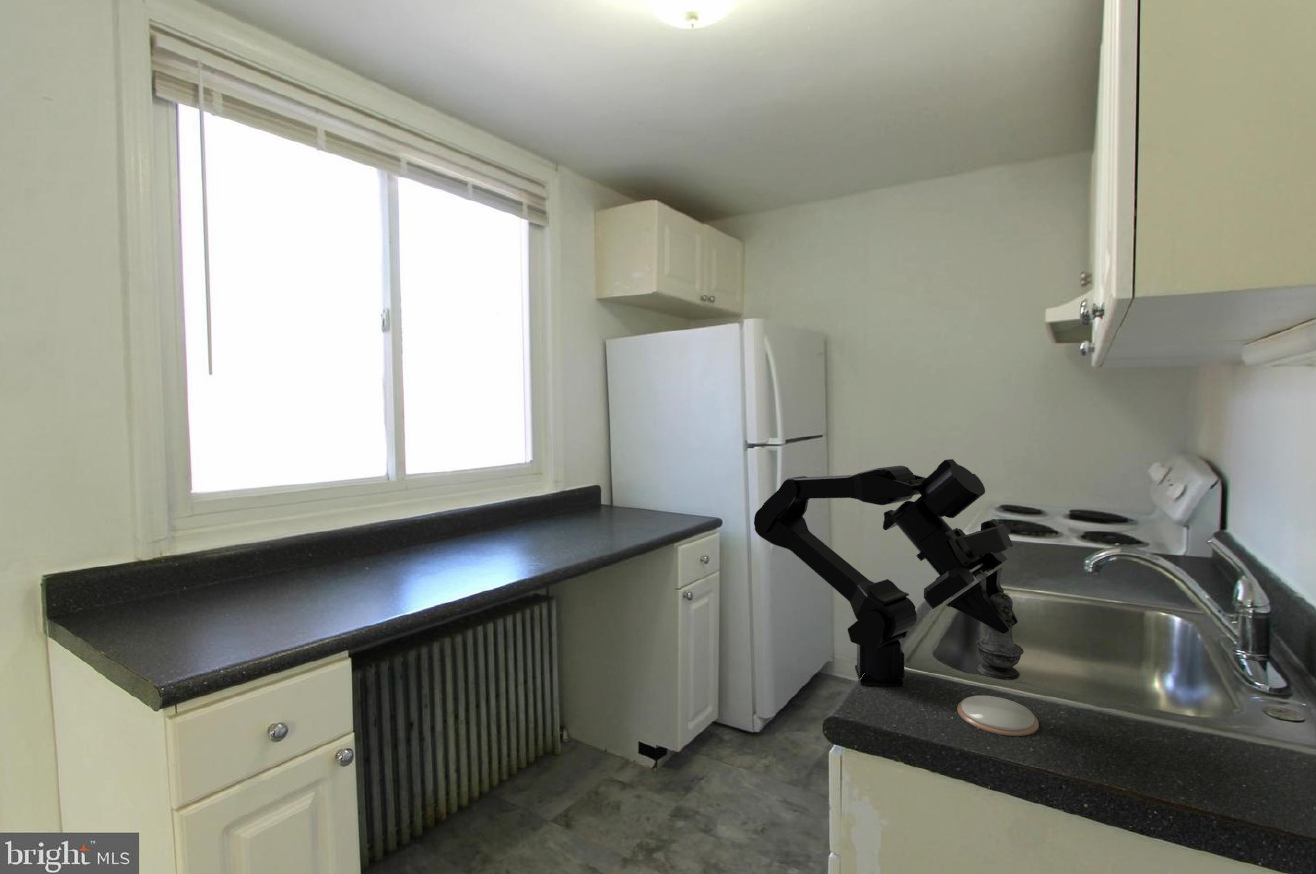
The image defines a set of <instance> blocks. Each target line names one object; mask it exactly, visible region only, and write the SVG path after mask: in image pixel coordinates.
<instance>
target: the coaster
mask: <svg viewBox="0 0 1316 874" xmlns="http://www.w3.org/2000/svg"><path fill="white" fill-rule="evenodd" d="M956 709H957V710H956V712H957V715H959V717H960V718H961V719H962V720H963V721H964V722H965V723H968V724H969V725H970V726H972V727H974V728H977V729H979V730H981V731H985V732H987V733H992V734H995V735H1001V736H1007V737H1008V736H1009V737H1023V736H1029V735H1032V734H1034V733H1036V732H1037V731H1038V730H1039V726H1040V724H1039V719H1038V718H1037V717H1036V716H1035V715H1034V713H1033V712H1032V711H1031V710H1030V709H1029V708H1027V707H1026V706H1024V705H1022V704H1020V703H1018V702H1015V701H1014V700H1010V699H1008V698H1002V697H999V696H998V697H997V696H992V695H973V696H968V697H965V698H964V699H962V701H960V702H959V703H958V705H957V708H956Z"/></svg>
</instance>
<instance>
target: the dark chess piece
mask: <svg viewBox="0 0 1316 874" xmlns="http://www.w3.org/2000/svg"><path fill="white" fill-rule="evenodd" d="M999 591H1000V593H996V594H993V595H992V596H991V597H990V600H991V601H992V603H993V604H994V606H995V607H996V609H997V610H998V611H999V613H1000V614H1001V616H1002V617H1003V619H1004V620H1005V622H1006V624H1007V625H1008V627H1009V628H1010V630H1009V631H1008V632H1006V633H1005V634H1002V633H1000V632H999V631H997V630H995V629H993V628H991V627H989V626H988V625H987V633H986V636H985V638H980V639H978V640H976V642H975V646H976V647H977V651H978V653H979V657H980V658H981V659H982V660H983V662H981V663H979V664H977V666H976V667H977V668H976V669H977V671H978V672H980V674H982V675H984V676H986V677H989V678H992V679H995V680H1002V681H1014V680H1018V679H1019V678H1020V676H1021V673H1020V671H1018V670H1017V669H1016V668H1014V666H1016V665H1018V663H1019V662H1020V660H1021V656H1022V655H1023V654H1024V648H1022V647H1021V646H1020V645H1018V644H1017V643H1015V642H1014V640H1013V639H1014V638H1013V626H1015V625H1016V624H1015V621H1014V620H1013V619H1012V610H1013V599H1012V598H1011V596H1009V595H1007V593H1005V590H1004V588H1003V587H1002V586H1001V588H1000V590H999ZM1003 592H1004V593H1003ZM1014 624H1015V625H1014ZM1012 625H1013V626H1012Z"/></svg>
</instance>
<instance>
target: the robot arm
mask: <svg viewBox="0 0 1316 874" xmlns="http://www.w3.org/2000/svg"><path fill="white" fill-rule="evenodd" d="M985 493H986V489H985V485H984V483H983V482H982V480H981V479H980V478H979V476H978V475H976V474H975V473H972V471H971V470H969V469H967V468H966V467H964V466H962V465H960V464H958V463H957V462H956V461H955V459H954V458H949V459H944V460H942V462H941V463H940V464H939V465H938V466H937V467H936V468H935V470H934V471H933V472H931V473H930V474H929V475H928V476H927V477H925V476H920V475H917V474H914V473H913V471H912V470H911V469H910V468H909V467H907V466H905V465H893V466H883V467H878V468H873V469H869V470H864V471H862V472H858V473H855V474H850V475H829V476H828V475H826V476H825V475H823V476H811V477H810V476H806V475H805V476H804V475H802V476H801V475H800V476H794V477H788V478H787V479H785V480H784V481H783V482H782V483H781V485H780V487H779V488H778V490H777V491H776V492H774V493H773V494H771V496H770V497H769V498H768V499H766V500H765V502H763V504H762V506H761V507H760V508H759V509H758V510H757V511H756V512H755V513H754V518H753V526H754V531H755V533H756V534H757V535H758V536H759V537H761V539H764V540H765V541H767V542H769V543H770V544H771V545H774V546H777V547H780V548H783V549H787V550H789V551H790V552H791V553H793V554H794V555H795V556H796V557H797V558H798V559H799V560H801V561H802V562H804V564H805V565H806V566H808V567H809V568H810V569H811V570H812V571H813V572H815V573H816V574H817V575H818V576H819V577H821V579H823V581H825V582H826V583H827V584H828V585H830V587H832V588H833V589H834V590H836V591H837V593H839V594H840V595H841V596H842V597H843V598H845V599H846V600H847V601H848V602H849V603H850V607H851V608H852V612H853V614H854V615H853V616H854V617H855V619H856V621H855V622H854V623H853V624H851V625H850V626H848V628H847V634H848V636H849V640H850V642H851V643H852V644H853V643H854V644H856V665H854V671H855V673H856V676H857V679H858V680H859V679H860V678H861V677H862V675H863V674H864V673H865V674H864V675H863V677H862V679H861V680H860V681H859V683H860V684H861V685H865V686H867V685H868V686H881V687H882V686H884V687H887V686H888V687H901V688H902V687H904V681H903V680H904V678H905V653H904V650H903V649H902V643H901V642H900V640H901V639H905V638H907V636H908V633H909V631H910V630H911V629H913V627H915V625H916V623H917V617H918V616H917V610H916V605H915V604H914V602H913V601H912V600H911V599H910V598H909V597H908V596H910V593H908V592H905V591H903V590H902V589H900V588H899V587H898V586H897V585H896V584H895V583H894V582H893V581H891V580H890V579H888V578H886V579H883V580H880V581H877V582H874V581H872V580H870V579H868V578H867V577H866V576H865V575H863V574H862V573H861V572H860V571H858V570H857V569H856V568H855V567H854V566H853V565H852V564H850V563H849V562H848V561H846V560H845V559H844V558H842V556H841V555H839V554H838V553H837V552H835V551H834V550H833V549H832V548H830V547H829V546H828V545H827V544H826V543H824V541H822V540H821V539H820V538H818V537H817V536H815V534H813V532H811V531H810V529H809V527H808V525H807V522H806V519H805V518H804V517H803V516H804V515H805V513H806V512H807V511H808V504H809V500H810V499H854V500H858V501H860V502H862V503H866V504H872V505H877V506H886V505H891V504H897V503H901V502H903V503H902V504H901V505H899V506H898V507H897V508H896V509H895V510H893V509H889V510H887V511H884V512H883V523H882V530H884V531H887V530H890V529H892V528H895V527H898V528H899V529H900V530H901V532H902V533H903V534H904V535H905V536H906V538H907V539H908V540H909V541H910V542H911V543H912V545H913V546H914V547H915V548H916V550H917V551H918V553H917V554H916V555H915V556H916V557H917V559H918V560H919V561H920V562H922V561H924V560H926V562H927V563H928V564H929V565H930V566H931V567H932V569H933V570H934V571H935V572H936V574H937V575H939V576H938V577H936V578H935V580H934V581H933V582H931V583H930V584H928V585H927V586H926V587H924V588H923V599H924V600H925V602H927V604H928V605H929V606H930V607H931V609H932V610H934V609H936V608H938V607H939V606H941V605H942V604H943V603H944V602H945V601H947V600H949V599H950V598H952V600H950V601H949V602H947V603H946V605H945V606H947V608H952V609H954V610H957V611H959V612H961V613H963V614H965V615H967V616H969V617H971V618H973V619H975V620H977V621H978V622H980V623H982V624H984V625H986V626H987V627H988V626H989V627H991V628H993V629H995V630H997V631H999V632H1000V633H1002V634H1005V633H1006V632H1008V631H1009V630H1010V628H1009V627H1008V625H1007V624H1006V622H1005V620H1004V619H1003V617H1002V616H1001V614H1000V613H999V611H998V610H997V609H996V607H995V606H994V604H993V603H992V601H991V600H990V597H991V596H992V595H993V594H996V593H1000V591H999V590H1000V588H1001V587H1002V586H1001V575H1002V572H1003V567H1002V566H1000V565H1001V564H1003V563H1004V562H1006V561H1007V560H1008V558H1007V557H1006V556H1005V555H1004V554H1003V552H1004V551H1006V550H1008V549H1009V547H1010V548H1013V546H1014V544H1013V541H1012V540H1011V537H1010V534H1011V530H1010V528H1007V527H1006V525H1005V523H1000V522H999V521H998V520H997V519H995V518H993V519H988V520H985V521H984V522H981V524H980V530H977V531H975V532H974V531H973V532H971V533H967V534H966V533H965V532H964V531H963V530H962V528H959V527H956V528H952V527H951V525H949V524H948V523H947V522H946V521H945V519H944V517H946V518H949V519H954V518H956V517H957V516H959V515H960V514H961V513H962V512H963V511H965V510H966V509H967V508H969V506H971V505H972V504H974V502H976V501H977V500H979V499H980V498H981V497H982V496H984V494H985ZM917 495H918V496H919V495H920V496H919V497H918V498H917V499H915V501H913V500H912V498H913V497H914V496H917ZM999 566H1000V567H999ZM997 567H999V568H998V569H996V568H997ZM995 569H996V570H995ZM993 570H994V571H993ZM1003 593H1005V591H1004V592H1003ZM1012 619H1013V620H1014V621H1015V624H1014V625H1012V627H1014V626H1015V625H1017V624H1018V623H1019V620H1018V618H1017V616H1016V615H1015V612H1014V610H1013V609H1012ZM902 679H903V680H902Z"/></svg>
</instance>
